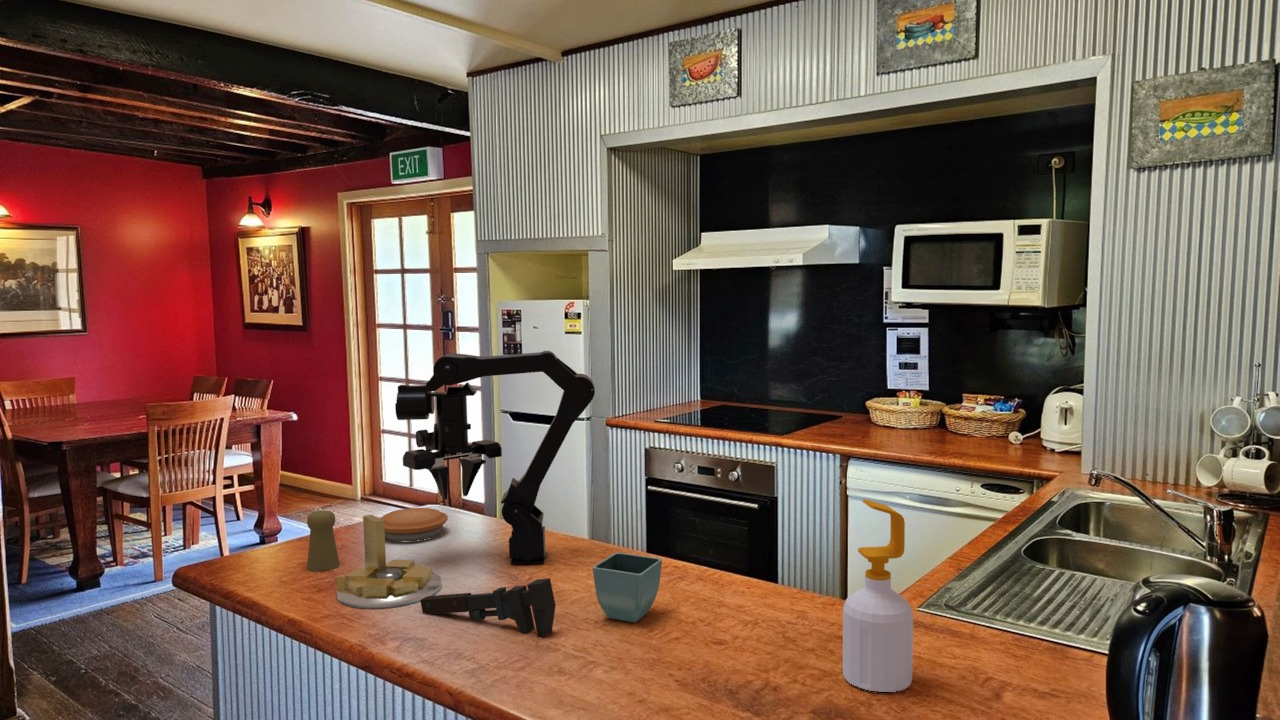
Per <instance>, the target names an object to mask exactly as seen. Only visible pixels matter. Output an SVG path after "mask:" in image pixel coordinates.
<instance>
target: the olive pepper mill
mask: <svg viewBox="0 0 1280 720" xmlns="http://www.w3.org/2000/svg"><path fill="white" fill-rule="evenodd" d="M306 524H307V527H308V528H309V531H310V533H309V540H308V541H309V544H308V554H307V564H306V565H307V566H306V570H307V571H309V572H314V573H317V572H321V573H322V572H327V571H332V570H335V569H337V568H339V567H340V566H339V565H340V559H339V554H338V548H337V544H336V539H335V532H334V528H333V527H334V526H335V524H336V516H335V514H334V512H333V511H331V510H328V509H326V510H325V509H323V510H322V509H321V510H320V509H319V510H316V511H312V512H311V513H309V514H308V516H307V518H306Z"/></svg>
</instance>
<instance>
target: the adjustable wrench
mask: <svg viewBox="0 0 1280 720" xmlns="http://www.w3.org/2000/svg"><path fill="white" fill-rule="evenodd" d="M419 603H420V608H421V612H422V614H424V613H425V614H424V615H439V614H441V615H442V614H443V615H444V614H454V613H467V612H468V617H469V620H475V621H483V620H485V619H487V617H497V619H498V621H504V620H507V619H510V620H513V621H514V622H515V624H516V626H517V628H518V629H519V631H520V633H521V634H523V635H528V634H530V633H531V632H532V630H533V631H535V630H536V634H537V637H538V638H540V637H541V638H540V639H543V638H544V637H546V636H548V635H549V634H550V633H552V632H553V625H554V619H555V613H556V600H555V596H554V591H553V586H552V580H551V578H550V577H548V578H540V579H539V578H538V579H536V580H535V579H534V580H533V581H531V582H530V583H528V584H526V585H518V586H516V585H515V586H514V587H512V588H510V589H508V590H507V587H506V586H502V587H501V586H500V587H498V588H497V589H495V590H493V591H492V592H487V593H486V592H485V593H475V594H473V593H472V592H464V593H451V594H450V593H448V594H439V595H436V594H435V595H433V596H427V597H425V598H423V599H421V600H420V602H419ZM488 609H489V610H488ZM529 632H530V633H529ZM547 634H548V635H547Z"/></svg>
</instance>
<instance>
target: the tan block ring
mask: <svg viewBox="0 0 1280 720" xmlns="http://www.w3.org/2000/svg"><path fill="white" fill-rule="evenodd" d="M380 518H381V517H378V516H376V515H374V514H367V515H363V516H362V521H363V525H362V526H363V542H364V543H363V544H364V561H365V562H364V564H365V566H364V567H355V569H353V570H352V571H351V572H349V573H348V574H347V575H345V579H346V581H347V582H346V583H347V589H349V590H350V591H352V592H353V593H355V594H356V595H357V594H361V593H362V596H388V595H389V594H390V593H392V594H394V595H398V594H402V593H406V592H410V591H414V590H418V587H424V586H425V585H426V584H427V583H428V582H429V581H430V580H431V579H432V574H431V572H432V568H428V567H427V566H424V565H423V564H420V563H418V564H415V563H416V562H415V559H391V560H390V561H389V562H388V563H387V558H386V556H387V555H386V537H385V532H384V520H382V519H380ZM389 568H397V569H401V570H402V579H399V580H395V581H394V579H392V578H377V574H376V573H377V572H378V571H380V570H384V569H389Z"/></svg>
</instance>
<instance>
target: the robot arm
mask: <svg viewBox="0 0 1280 720" xmlns="http://www.w3.org/2000/svg"><path fill="white" fill-rule="evenodd" d="M432 370H433V375H432V376H431V377H430V379H429V380H428V381H426V384H424V385H423V384H417V385H416V384H415V385H414V384H413V385H411V384H399V385H398V386H397V393H396V400H395V401H396V403H395V404H394V406H395V407H394V409H395V415H396V420H398V421H408V420H409V421H411V420H412V421H414V420H418V421H419V420H428V419H429V418H430V415H434V413H435V406H436V423H434V424H433V431H432V432H429V430H428V429H420V430H417V431H415V443H416V447H417V448H421V449H413V450H406V451H405V453H404V454H403V456H402V466H403V467H405V468H408V469H411V470H414V471H417V470H418V471H422V470H427V471H429V473H430V474H431V476H432V477H433V480H434V481H435V484H436V486H437V489H438V491H439V493H440V496H441V499H442V500H443V501H447V500H448V497H449V496H448V495H449V494H448V492H449V466H445V461H448V460H454V459H458V460H459V463H460V466H461V490H462V496H463V497H467V496H468V495H469V493H470V490H471V488H472V487H473V486H472V485H473V483H474V480H475V479H476V476H477V474H478V473H479V471H480V469H481V467H482V466H483V465H484V464H486V462H487V460H486V459H483V455H485V457H487V458H488V459H495V458H501V457H503V448H502V445H501V444H500V443H499V442H498V441H495V440H490V439H483V440H476V441H472V442H471V444H469V433H468V432H469V431H468V430H471V429H472V427H471V426H472V424H471V423H468V405H467V403H468V402H467V399H468V398H467V397H468V396H469V397H470V396H472V397H473V396H475V395H476V394H477V389H475V388H474V387H472V385H471V384H470V383H469V382H470V381H472V380H475V379H479V378H483V377H493V376H506V375H516V374H532V373H540V372H541V373H544V374H545V376H547V377H548V378H549V379H551V380H552V381H553V383H554V384H556V386H558V387H559V388H560V389H561V390H563V392H562V395H561V398H560V402H559V405H558V408H557V411H556V414H555V416H554V417H553V420H552V421H551V423H550V425H549V427H548V429H547V431H546V433H545V434H544V437H543V439H542V440H541V442H540V444H539V447H538V448H537V450H536V452H535V454H534V455H533V457H532V460H531V461H530V464H529V465H528V467H527V469H526V471H525V473H524V474H523V476H521V478H520V479H519V480H517V479H516V478H514V477H512V479H511V481H510V485H509V487H508V489H507V491H505V492H504V493H503V494H502V495H503V496H502V498H501V500H500V501H501V502H500V504H503V505H502V508H501V515H502V519H503V520H504V521H505V523H506V524H508V525H510V526H511V529H512V530H511V535H510V536H509V538H508V551H509V552H508V554H509V560H510V564H511V565H543V564H545V562H546V558H547V556H548V551H546V526H543V520H544V512H543V511H542V510H541V509H540V508H539V507H538V506H537V505H535V504H536V500H537V497H538V494H539V490H540V488H541V484H542V482H543V480H544V479H545V477H546V475H547V473H548V471H549V469H550V468H551V466H552V464H553V462H554V460H555V458H556V456H557V455H558V452H559V450H560V448H561V446H562V445H563V443H564V441H565V439H566V437H567V436H568V433H569V432H570V429H571V427H572V426H573V424H574V423H575V421H577V419H578V418H579V417H580V416H581V415H582V413H583V412H584V411H585V410H586V409H587V407H588V406H589V405H590V403H591V402H592V400H593V399H594V397H595V393H596V390H595V385H594V382H593V380H592V379H591V377H590V376H589V375H587V374H584V373H578V372H576V370H574V369H573V368H572V367H570V366H569V365H567V364H566V363H565V362H563V360H561V359H560V358H558V356H557V355H556V354H555V353H554V352H552V351H551V350H543V351H541V352H540V351H539V352H538V351H537V352H529V353H515V354H513V353H512V354H503V355H502V354H501V355H490V356H489V355H488V356H482V355H474V354H466V353H457V352H456V353H454V352H450V353H447V354H445V355H443V356H441V357H440V358H438V359H437V360H436V361H435V363H434V365H433V369H432ZM462 383H465V384H464V385H463V386H454V385H458V384H462ZM443 386H448V387H447V389H446V391H438V390H439V389H440V388H442V387H443ZM435 398H436V401H435ZM435 403H436V405H435ZM423 448H425V449H423Z"/></svg>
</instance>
